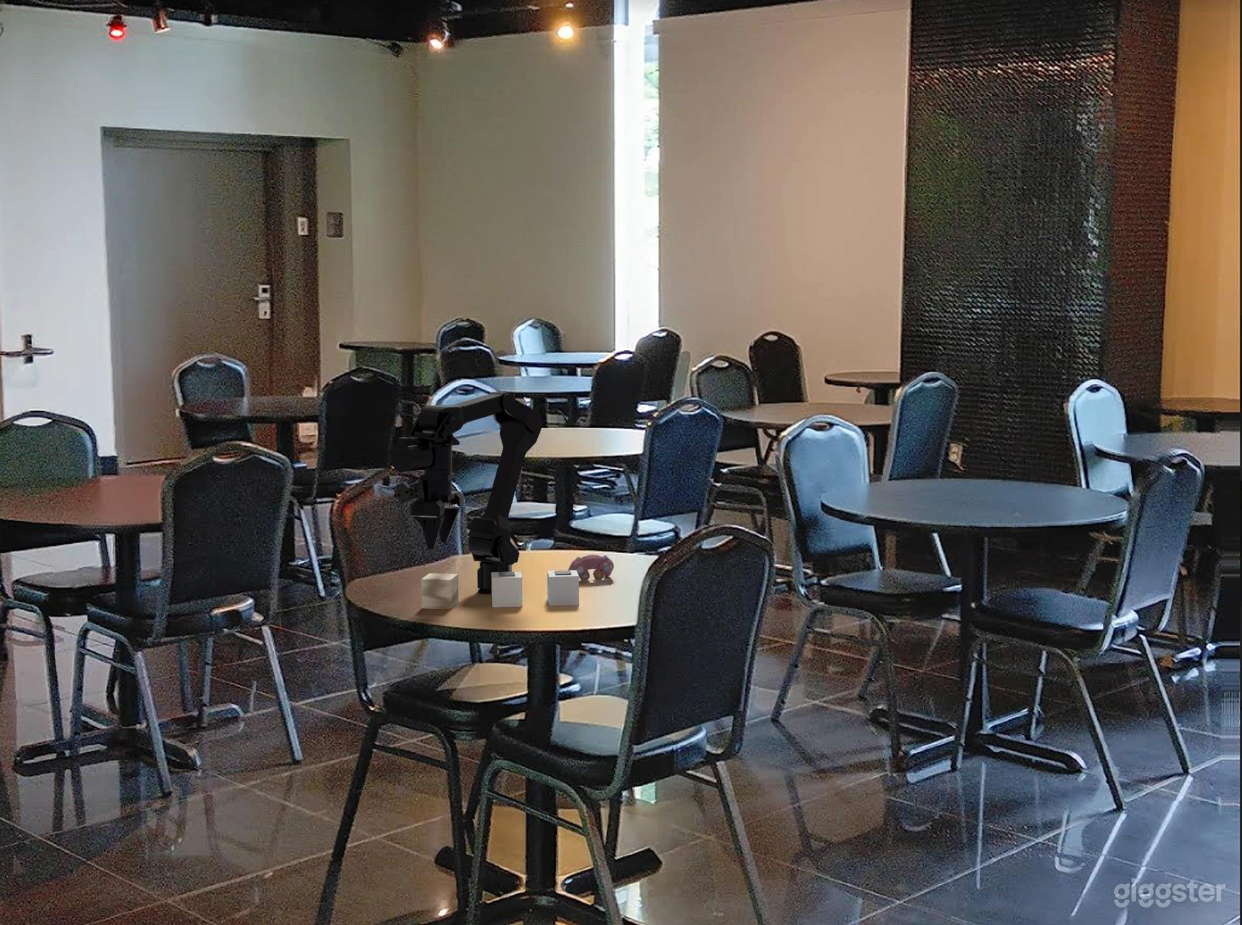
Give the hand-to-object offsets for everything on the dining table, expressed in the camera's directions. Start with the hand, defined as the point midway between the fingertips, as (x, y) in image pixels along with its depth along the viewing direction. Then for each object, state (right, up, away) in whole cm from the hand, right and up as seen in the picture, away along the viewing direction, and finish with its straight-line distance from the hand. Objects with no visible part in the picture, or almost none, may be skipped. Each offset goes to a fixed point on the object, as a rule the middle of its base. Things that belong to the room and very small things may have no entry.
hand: (437, 545), depth 308 cm
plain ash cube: (0, -12, +1) cm, 12 cm away
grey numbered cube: (+25, -12, +4) cm, 28 cm away
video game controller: (+30, -9, +26) cm, 41 cm away
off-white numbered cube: (+14, -12, +3) cm, 18 cm away
